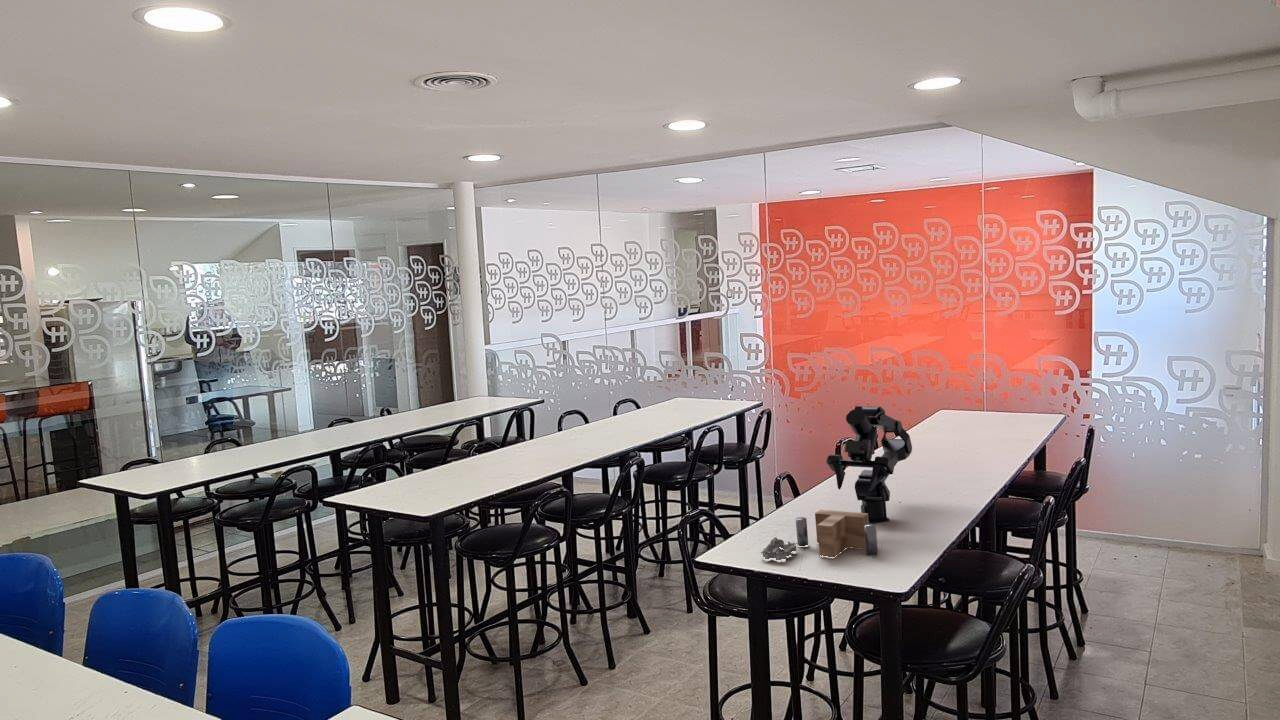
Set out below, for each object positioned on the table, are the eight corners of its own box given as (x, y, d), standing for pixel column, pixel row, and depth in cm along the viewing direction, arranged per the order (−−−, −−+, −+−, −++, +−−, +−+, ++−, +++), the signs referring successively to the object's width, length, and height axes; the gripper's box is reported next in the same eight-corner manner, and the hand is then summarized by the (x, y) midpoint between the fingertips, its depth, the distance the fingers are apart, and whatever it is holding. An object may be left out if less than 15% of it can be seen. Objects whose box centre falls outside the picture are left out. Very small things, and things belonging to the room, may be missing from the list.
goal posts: (800, 544, 242) (798, 516, 242) (879, 552, 229) (877, 523, 228) (796, 547, 240) (793, 519, 239) (875, 556, 227) (873, 527, 226)
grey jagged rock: (776, 550, 241) (775, 535, 240) (801, 553, 236) (800, 538, 236) (758, 561, 232) (757, 547, 232) (783, 565, 228) (782, 550, 227)
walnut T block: (823, 540, 244) (820, 509, 243) (870, 545, 236) (868, 513, 235) (802, 555, 233) (799, 523, 232) (851, 561, 225) (849, 527, 224)
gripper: (825, 428, 254) (814, 474, 246) (887, 429, 243) (876, 477, 235) (838, 447, 261) (827, 492, 253) (898, 449, 250) (888, 497, 242)
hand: (853, 489), depth 246 cm, fingers open, 9 cm apart
